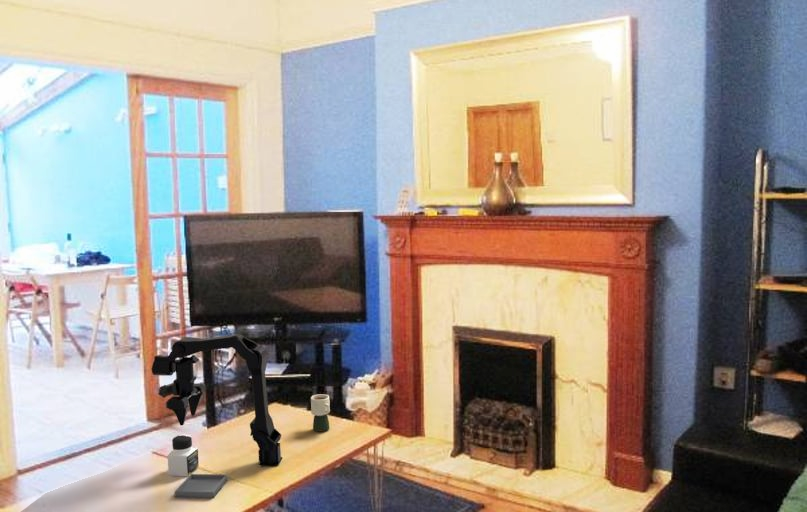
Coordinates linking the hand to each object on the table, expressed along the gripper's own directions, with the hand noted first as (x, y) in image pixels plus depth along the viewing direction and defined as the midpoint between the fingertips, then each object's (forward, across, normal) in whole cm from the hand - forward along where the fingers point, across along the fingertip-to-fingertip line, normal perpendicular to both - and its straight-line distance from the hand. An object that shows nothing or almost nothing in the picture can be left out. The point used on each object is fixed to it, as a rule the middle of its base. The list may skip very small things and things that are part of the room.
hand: (187, 420), depth 223 cm
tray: (+15, +20, +12) cm, 28 cm away
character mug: (+15, -30, +39) cm, 52 cm away
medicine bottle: (+15, +8, +1) cm, 17 cm away
